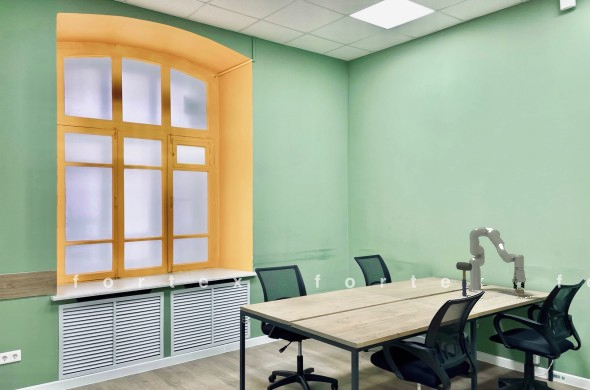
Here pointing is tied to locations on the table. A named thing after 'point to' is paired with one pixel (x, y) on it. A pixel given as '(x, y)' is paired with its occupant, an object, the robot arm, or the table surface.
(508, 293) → the base plate
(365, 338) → the table surface
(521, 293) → the wooden collar
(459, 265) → the rubber mallet
